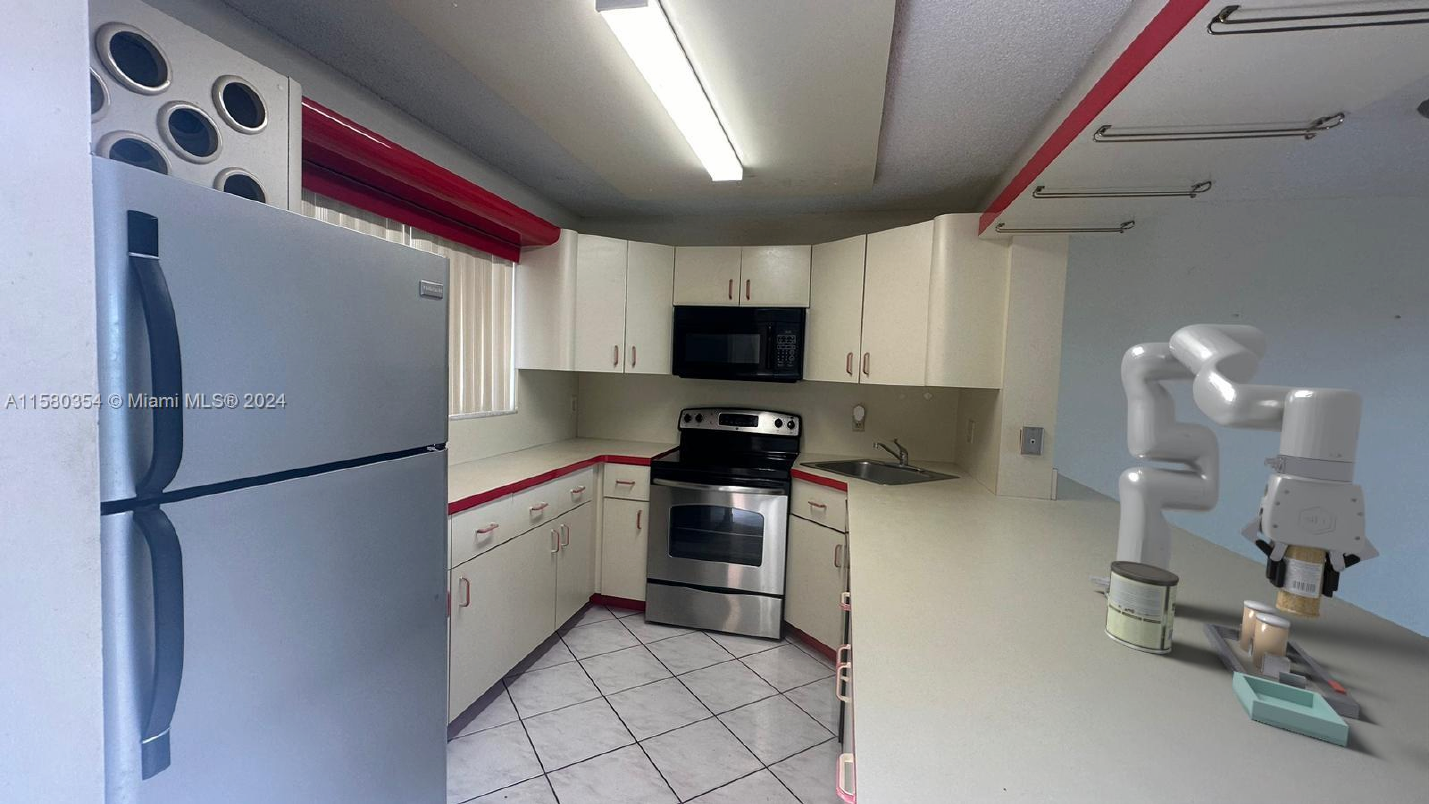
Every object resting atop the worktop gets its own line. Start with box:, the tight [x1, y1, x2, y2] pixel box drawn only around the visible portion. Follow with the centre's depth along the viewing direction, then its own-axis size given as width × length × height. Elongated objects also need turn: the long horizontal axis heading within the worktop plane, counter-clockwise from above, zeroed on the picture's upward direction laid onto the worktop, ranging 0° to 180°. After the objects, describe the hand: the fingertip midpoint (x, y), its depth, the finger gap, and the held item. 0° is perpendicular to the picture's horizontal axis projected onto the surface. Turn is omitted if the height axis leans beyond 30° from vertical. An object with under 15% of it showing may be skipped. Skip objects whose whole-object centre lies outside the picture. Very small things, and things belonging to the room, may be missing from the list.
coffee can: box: [1104, 560, 1180, 655], centre depth 102 cm, size 10×10×14 cm
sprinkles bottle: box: [1275, 544, 1326, 620], centre depth 79 cm, size 5×5×14 cm
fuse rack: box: [1202, 621, 1360, 720], centre depth 94 cm, size 13×24×4 cm, turn 147°
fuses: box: [1239, 599, 1291, 669], centre depth 97 cm, size 4×11×9 cm, turn 147°
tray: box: [1231, 671, 1349, 748], centre depth 80 cm, size 10×10×3 cm
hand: (1299, 588), depth 79 cm, fingers closed on sprinkles bottle, 4 cm apart
